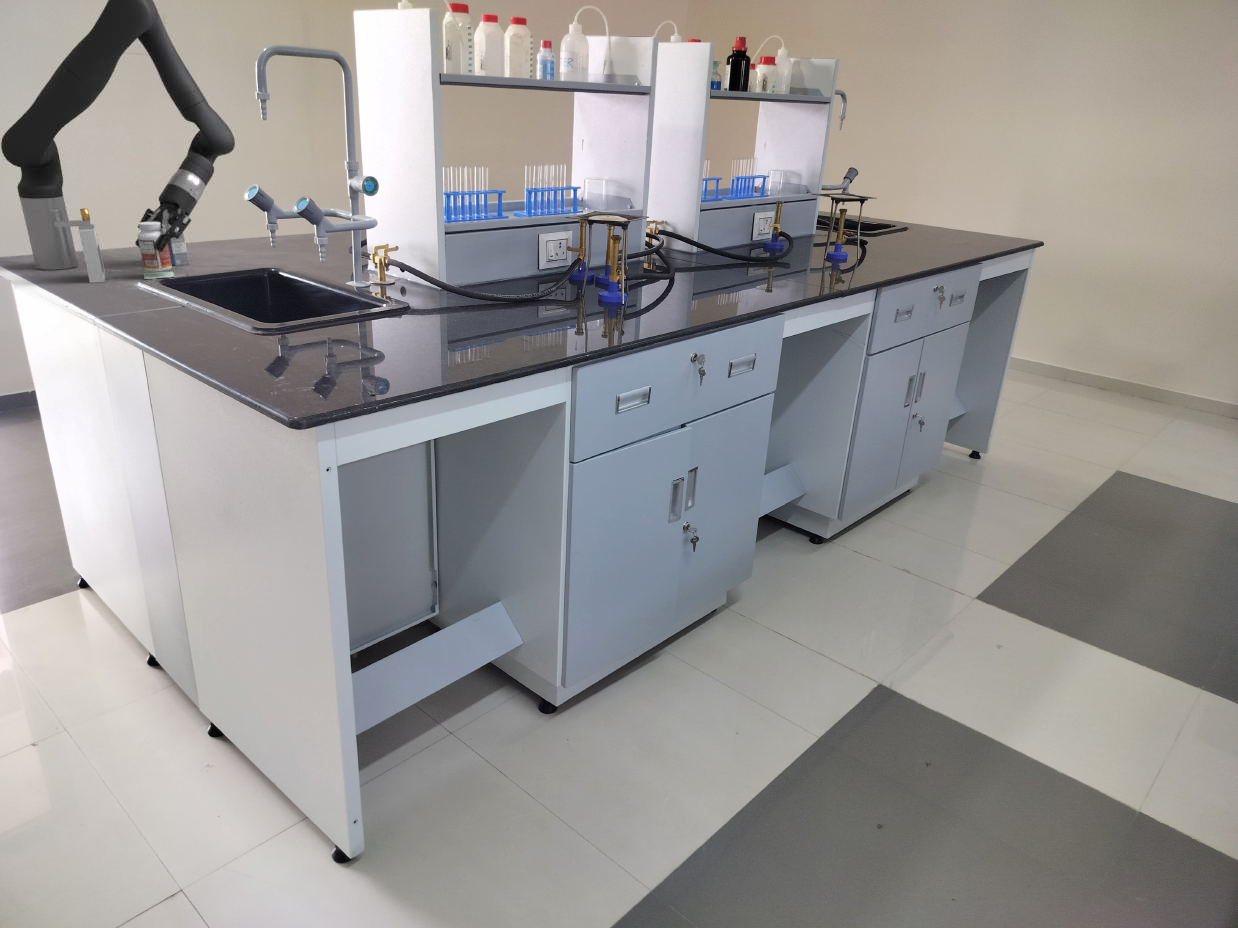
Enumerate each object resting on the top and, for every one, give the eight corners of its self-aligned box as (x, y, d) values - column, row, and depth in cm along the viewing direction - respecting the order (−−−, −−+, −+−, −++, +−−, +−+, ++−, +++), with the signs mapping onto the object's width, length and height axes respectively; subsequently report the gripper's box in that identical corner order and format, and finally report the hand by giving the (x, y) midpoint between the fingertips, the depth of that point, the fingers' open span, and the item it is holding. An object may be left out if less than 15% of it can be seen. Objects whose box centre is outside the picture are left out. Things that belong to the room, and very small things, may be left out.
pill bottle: (168, 266, 215) (160, 220, 211) (175, 270, 211) (167, 223, 206) (141, 268, 211) (132, 222, 207) (147, 272, 207) (138, 225, 203)
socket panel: (91, 275, 210) (80, 222, 205) (105, 275, 212) (94, 221, 207) (89, 282, 203) (78, 227, 198) (105, 281, 204) (93, 226, 199)
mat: (144, 275, 213) (144, 273, 213) (173, 273, 216) (173, 271, 216) (144, 280, 208) (144, 278, 208) (174, 278, 211) (174, 276, 210)
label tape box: (190, 264, 227) (182, 216, 222) (174, 266, 224) (165, 218, 219) (176, 260, 233) (168, 213, 228) (161, 261, 230) (152, 214, 225)
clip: (56, 226, 199) (52, 209, 197) (91, 225, 202) (88, 208, 200) (55, 227, 198) (51, 210, 196) (91, 226, 201) (87, 209, 199)
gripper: (151, 180, 212) (116, 235, 207) (191, 184, 206) (155, 241, 201) (174, 201, 219) (140, 254, 214) (213, 205, 213) (179, 261, 208)
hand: (148, 248), depth 208 cm, fingers closed on pill bottle, 6 cm apart
